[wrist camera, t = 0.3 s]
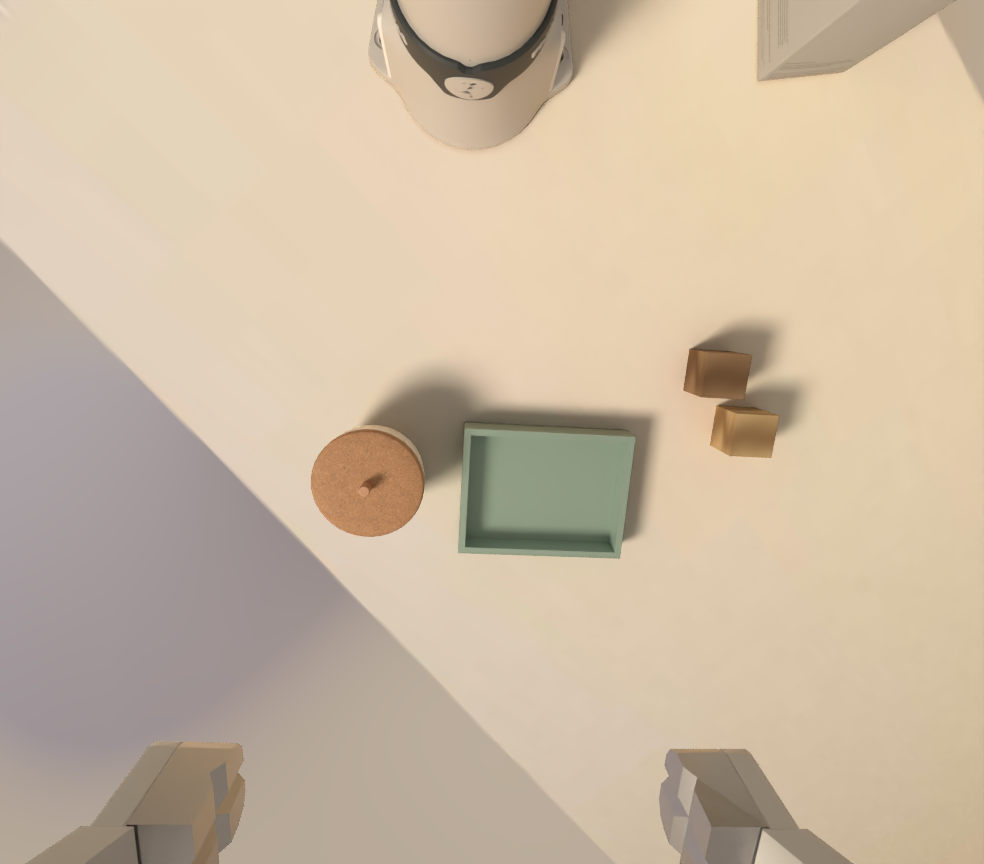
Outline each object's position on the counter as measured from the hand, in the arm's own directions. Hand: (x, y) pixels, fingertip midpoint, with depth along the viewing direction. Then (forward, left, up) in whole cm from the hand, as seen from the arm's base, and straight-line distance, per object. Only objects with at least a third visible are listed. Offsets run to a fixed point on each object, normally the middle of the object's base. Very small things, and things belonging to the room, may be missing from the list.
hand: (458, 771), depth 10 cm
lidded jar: (+8, -9, -47) cm, 49 cm away
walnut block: (-4, +26, -47) cm, 54 cm away
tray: (+10, +9, -47) cm, 49 cm away
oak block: (+2, +30, -47) cm, 56 cm away
